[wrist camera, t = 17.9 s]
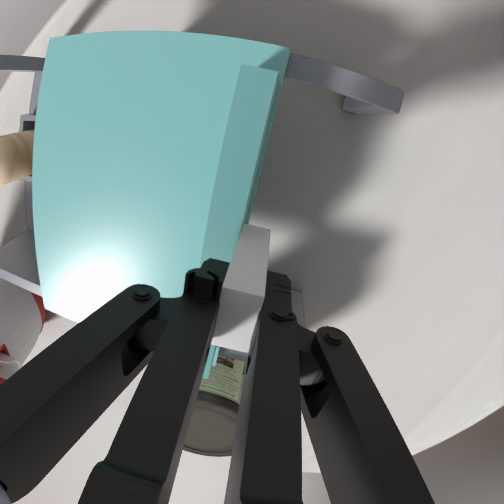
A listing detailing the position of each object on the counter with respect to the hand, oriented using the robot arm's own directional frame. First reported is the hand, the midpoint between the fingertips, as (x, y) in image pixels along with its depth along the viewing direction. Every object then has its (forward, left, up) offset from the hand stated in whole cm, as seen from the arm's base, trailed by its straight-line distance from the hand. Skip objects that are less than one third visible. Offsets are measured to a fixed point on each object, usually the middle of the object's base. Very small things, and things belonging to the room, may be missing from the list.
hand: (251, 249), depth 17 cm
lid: (0, -8, -2) cm, 9 cm away
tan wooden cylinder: (-1, -23, -11) cm, 26 cm away
